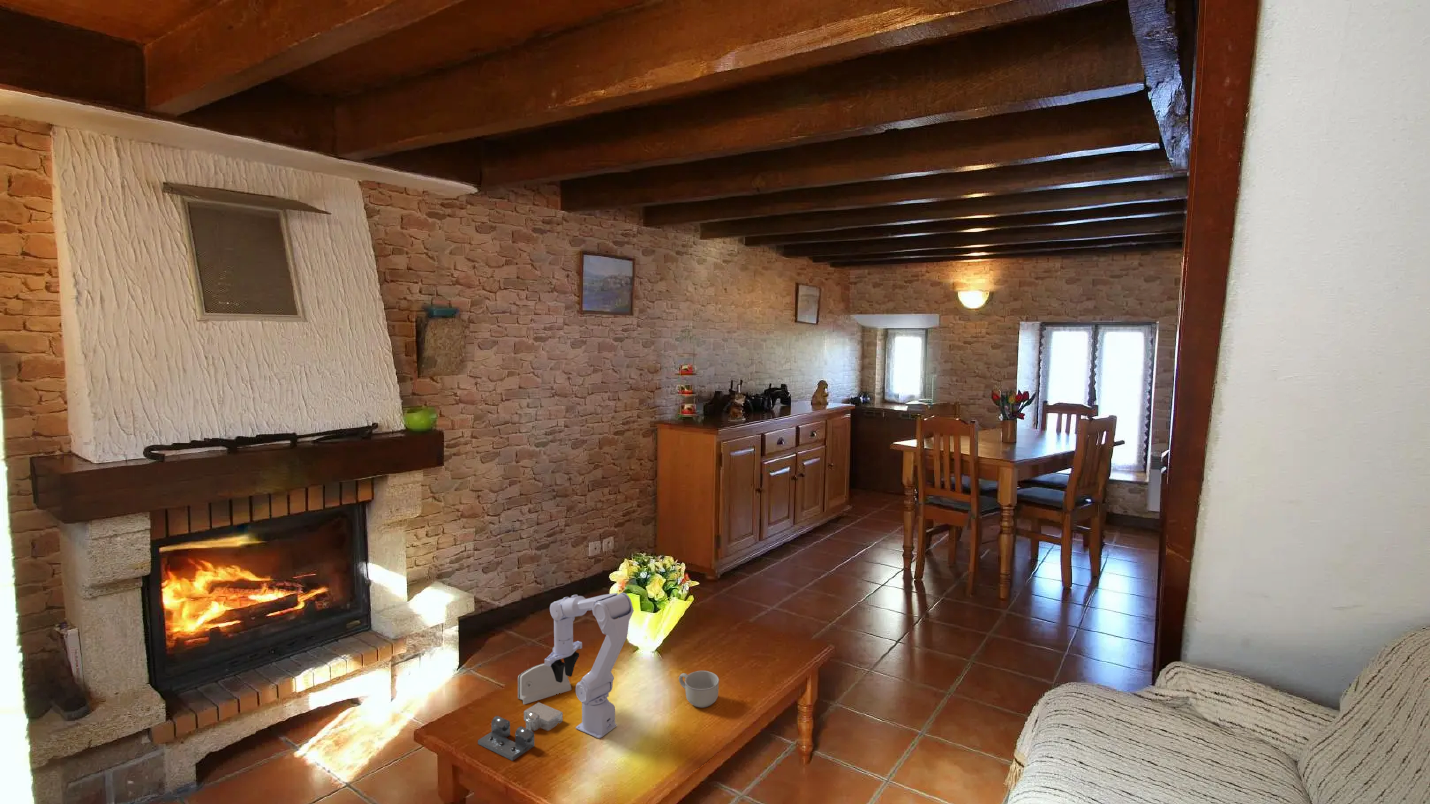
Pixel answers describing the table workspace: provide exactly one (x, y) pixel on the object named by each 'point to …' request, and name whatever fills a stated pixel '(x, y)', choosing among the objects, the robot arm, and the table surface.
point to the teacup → (700, 687)
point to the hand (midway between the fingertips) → (563, 678)
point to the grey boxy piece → (542, 717)
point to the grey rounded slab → (540, 683)
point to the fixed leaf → (504, 746)
